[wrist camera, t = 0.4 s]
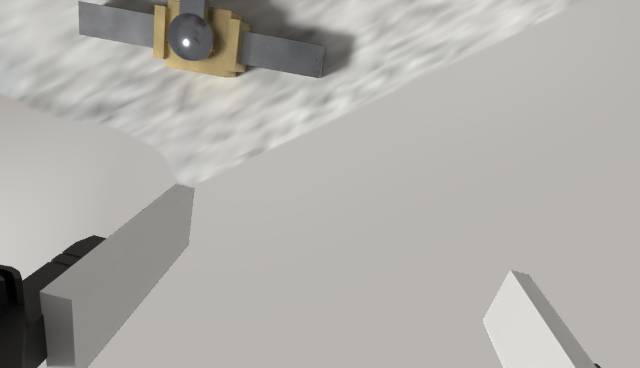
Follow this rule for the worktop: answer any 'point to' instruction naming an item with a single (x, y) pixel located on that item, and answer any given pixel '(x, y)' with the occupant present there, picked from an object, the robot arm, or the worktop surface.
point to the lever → (192, 31)
